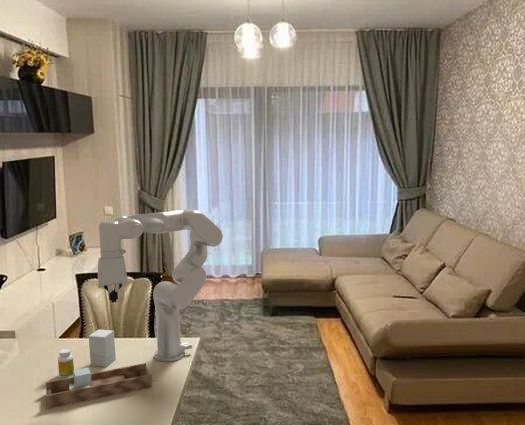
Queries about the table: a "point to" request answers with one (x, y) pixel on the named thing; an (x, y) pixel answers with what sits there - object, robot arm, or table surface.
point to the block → (82, 378)
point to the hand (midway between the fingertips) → (113, 301)
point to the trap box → (98, 385)
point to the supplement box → (102, 348)
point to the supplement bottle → (65, 363)
